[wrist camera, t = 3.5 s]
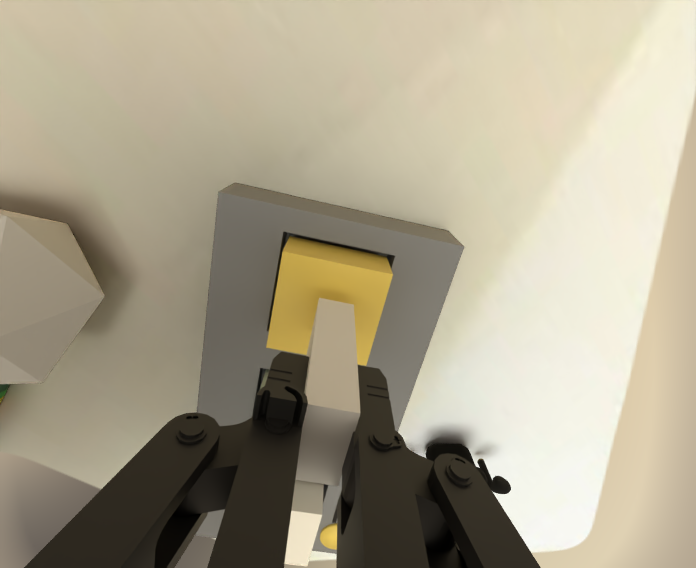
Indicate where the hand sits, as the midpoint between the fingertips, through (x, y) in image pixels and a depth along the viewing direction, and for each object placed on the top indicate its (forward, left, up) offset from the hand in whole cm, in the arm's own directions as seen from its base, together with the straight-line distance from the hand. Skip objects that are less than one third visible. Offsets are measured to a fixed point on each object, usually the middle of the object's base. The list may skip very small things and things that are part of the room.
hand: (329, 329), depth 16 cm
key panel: (0, -8, -7) cm, 10 cm away
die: (-16, -3, -7) cm, 18 cm away
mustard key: (0, 0, -4) cm, 4 cm away
